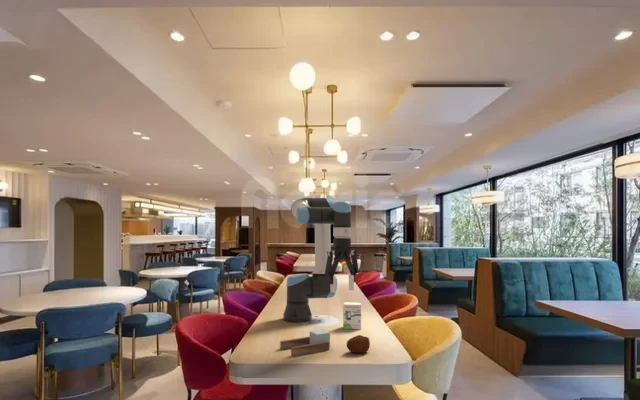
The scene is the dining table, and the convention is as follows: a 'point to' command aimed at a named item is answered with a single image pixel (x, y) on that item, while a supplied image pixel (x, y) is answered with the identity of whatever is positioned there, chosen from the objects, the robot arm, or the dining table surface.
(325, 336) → the block
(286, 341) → the pair of wooden slats
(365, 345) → the potato
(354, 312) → the ink box
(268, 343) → the dining table surface
